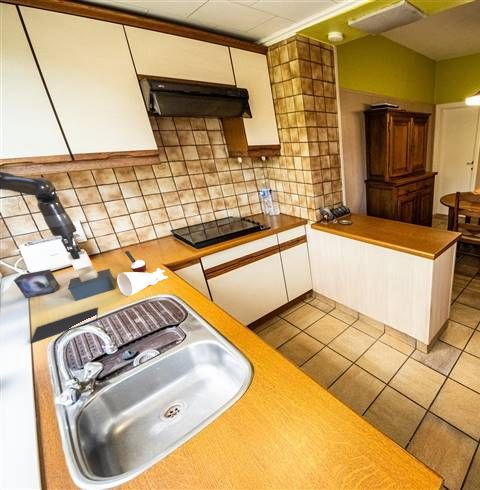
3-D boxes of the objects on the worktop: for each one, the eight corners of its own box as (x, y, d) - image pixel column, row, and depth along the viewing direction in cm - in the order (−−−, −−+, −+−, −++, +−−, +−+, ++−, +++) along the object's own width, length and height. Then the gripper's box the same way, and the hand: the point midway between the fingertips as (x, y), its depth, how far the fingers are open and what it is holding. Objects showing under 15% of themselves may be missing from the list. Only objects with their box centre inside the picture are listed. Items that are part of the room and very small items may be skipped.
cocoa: (148, 272, 147) (140, 252, 142) (134, 276, 143) (125, 256, 138) (146, 266, 153) (138, 248, 148) (132, 270, 149) (123, 251, 145)
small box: (24, 299, 127) (11, 280, 123) (32, 292, 133) (20, 274, 128) (54, 292, 132) (43, 274, 127) (61, 286, 137) (50, 268, 133)
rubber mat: (31, 343, 98) (30, 342, 98) (37, 328, 106) (36, 327, 106) (96, 320, 109) (96, 319, 109) (97, 307, 117) (97, 307, 117)
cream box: (81, 281, 125) (74, 269, 123) (82, 278, 129) (75, 266, 126) (97, 277, 129) (91, 265, 126) (97, 274, 132) (91, 262, 130)
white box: (74, 269, 123) (67, 257, 120) (75, 266, 126) (69, 254, 124) (91, 265, 126) (84, 253, 124) (91, 262, 130) (85, 250, 127)
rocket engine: (163, 258, 138) (121, 267, 122) (176, 274, 137) (135, 286, 120) (156, 272, 143) (114, 283, 126) (168, 288, 141) (128, 301, 125)
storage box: (75, 301, 123) (67, 288, 120) (77, 291, 132) (70, 279, 129) (115, 288, 132) (109, 276, 129) (115, 280, 140) (109, 268, 137)
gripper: (50, 222, 120) (68, 254, 127) (44, 229, 110) (64, 263, 117) (73, 218, 125) (89, 249, 131) (70, 224, 115) (88, 258, 121)
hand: (78, 256), depth 124 cm, fingers open, 8 cm apart
